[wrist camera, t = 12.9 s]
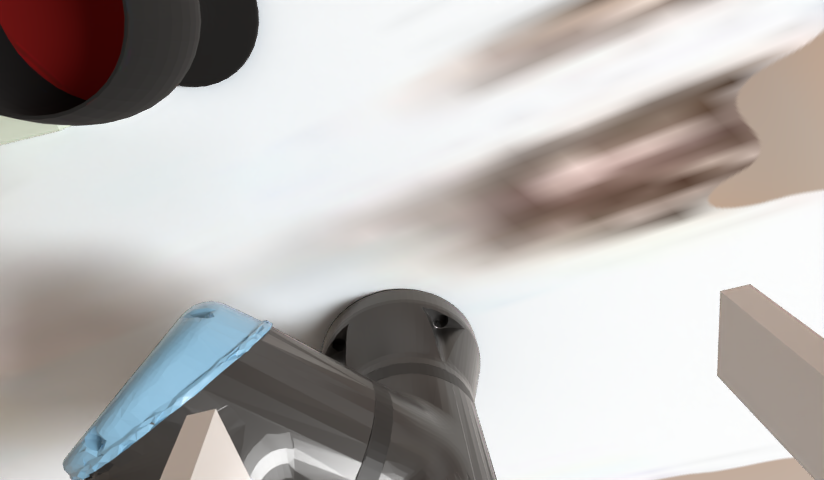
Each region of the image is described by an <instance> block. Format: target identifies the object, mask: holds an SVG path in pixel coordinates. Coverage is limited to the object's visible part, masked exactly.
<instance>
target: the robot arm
mask: <svg viewBox="0 0 824 480" xmlns="http://www.w3.org/2000/svg"><path fill="white" fill-rule="evenodd" d="M479 373H480V353H479V348H478V344H477V341H476V338H475V335H474V332H473V330H472V327H471V325H470V324H469V322H468V320H467V319H466V317H465V316H464V315H463V314H462V313H461V312H460V311H459V310H458V309H457V308H456V307H455V306H454V305H452V304H451V303H449V302H448V301H446V300H445V299H443V298H441V297H438V296H436V295H433V294H431V293H427V292H423V291H418V290H409V289H397V290H388V291H383V292H379V293H375V294H372V295H369V296H367V297H365V298H363V299H361V300H359V301H357V302H355V303H354V304H352V305H351V306H349V307H348V308H347V309H345V310H344V311H343V312H342V313H341V314H340V315H339V316H338V317H337V318H336V320H335V321H334V322H333V323H332V325H331V326H330V328H329V330H328V332H327V334H326V336H325V339H324V343H323V347H322V353H321V352H319V351H317V350H315V349H313V348H311V347H309V346H308V345H306V344H304V343H302V342H300V341H298V340H296V339H294V338H292V337H291V336H289V335H287V334H285V333H283V332H281V331H279V330H277V329H275V328H274V327H272V323H271V322H269V321H267V320H266V321H260V320H257V319H255V318H253V317H251V316H249V315H247V314H245V313H242V312H240V311H238V310H236V309H234V308H232V307H230V306H227V305H225V304H223V303H219V302H213V301H209V302H202V303H199V304H196V305H194V306H192V307H191V308H189V309H188V310H187V311H186V312H185V313H184V314H183V315H182V316H181V317H180V318H179V319H178V320H177V322H176V323H175V324H174V325H173V326H172V328H171V329H170V330H169V331H168V333H167V334H166V335H165V336H164V337H163V339H162V340H161V341H160V342H159V343H158V345H157V346H156V347H155V348H154V350H153V351H152V352H151V353H150V355H149V356H148V357H147V358H146V359H145V361H144V362H143V363H142V364H141V366H140V367H139V368H138V369H137V370H136V372H135V373H134V374H133V375H132V376H131V378H130V379H129V380H128V381H127V383H126V384H125V385H124V386H123V387H122V389H121V390H120V391H119V392H118V394H117V395H116V396H115V397H114V399H113V400H112V401H111V402H110V403H109V405H108V406H107V407H106V408H105V410H104V411H103V412H102V413H101V415H100V416H99V417H98V419H97V420H96V421H95V422H94V423H93V425H92V426H91V427H90V428H89V429H88V431H87V432H86V433H85V434H84V436H83V437H82V438H81V439H80V440H79V442H78V443H77V444H76V445H75V447H74V448H73V449H72V450H71V452H70V453H69V454H68V455H67V457H66V458H65V459H64V462H63V467H64V470H65V471H66V472H67V473H68V474H69V475H70V478H71V480H80V479H81V480H497V479H496V475H495V472H494V469H493V465H492V462H491V459H490V455H489V452H488V448H487V445H486V442H485V438H484V435H483V431H482V428H481V425H480V421H479V418H478V414H477V411H476V407H475V404H474V402H475V396H476V390H477V384H478V379H479ZM717 376H718V377H719V378H720V379H721V380H722V381H723V382H724V384H725V385H726V386H727V387H728V388H729V389H730V390H731V391H732V392H733V393H734V394H735V395H736V396H737V397H738V398H739V400H740V401H741V402H742V403H743V404H744V405H745V406H746V407H747V408H748V409H749V410H750V411H751V412H752V413H753V414H754V416H755V417H756V418H757V419H758V420H759V421H760V422H761V423H762V424H763V425H764V426H765V427H766V428H767V429H768V430H769V432H770V433H771V434H772V435H773V436H774V437H775V438H776V439H777V440H778V441H779V442H780V443H781V444H782V445H783V446H784V448H785V449H786V450H787V451H788V452H789V453H790V454H791V455H792V456H793V457H794V458H795V459H796V460H797V461H798V462H799V464H800V465H801V466H803V468H804V469H805V470H806V471H807V472H808V473H809V474H810V475H811V476H812V477H813V478H814V479H815V480H824V338H822V337H821V336H820V335H818V334H817V333H816V332H814V331H813V330H812V329H810V328H809V327H807V326H806V325H805V324H803V323H802V322H801V321H799V320H798V319H797V318H795V317H794V316H793V315H791V314H790V313H789V312H787V311H786V310H784V309H783V308H782V307H780V306H779V305H778V304H776V303H775V302H774V301H772V300H771V299H770V298H768V297H767V296H766V295H764V294H763V293H761V292H760V291H759V290H757V289H756V288H755V287H753V286H752V285H751V284H749V285H745V286H740V287H736V288H732V289H728V290H723V291H720V314H719V341H718V368H717Z"/></svg>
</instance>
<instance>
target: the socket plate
mask: <svg viewBox="0 0 824 480" xmlns="http://www.w3.org/2000/svg"><path fill="white" fill-rule="evenodd" d="M67 127H70V125H52V124H41V123H35V122H29V121H24V120H19V119H14V118H9V117H5V116H0V145H3V144H7V143H11V142H16V141H20V140H24V139H28V138H32V137H36V136H40V135H45V134H49V133H53V132H57V131H61V130H63V129H65V128H67Z"/></svg>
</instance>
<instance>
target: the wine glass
mask: <svg viewBox="0 0 824 480" xmlns="http://www.w3.org/2000/svg"><path fill="white" fill-rule="evenodd" d="M258 26H259V16H258V7H257V1H256V0H0V116H5V117H9V118H14V119H19V120H24V121H29V122H35V123H41V124H52V125H70V126H80V125H94V124H104V123H109V122H114V121H117V120H121V119H124V118H128V117H131V116H133V115H136V114H138V113H140V112H142V111H144V110H147V109H149V108H151V107H152V106H154V105H155V104H157V103H158V102H159V101H161V100H162V99H164V98H165V97H166V96H168V95H169V94H170V93H171V92H172V91H173V90H174V89H175V88H176V87H177V86H178V85H180V86H186V87H201V86H208V85H212V84H216V83H219V82H221V81H223V80H225V79H227V78H229V77H230V76H231V75H233V74H234V73H236V72H237V71H238V70H239V69H240V68H241V67H242V66H243V65H244V63H245V62H246V60H247V59H248V58H249V56H250V54H251V52H252V50H253V48H254V45H255V42H256V38H257V34H258Z"/></svg>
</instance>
